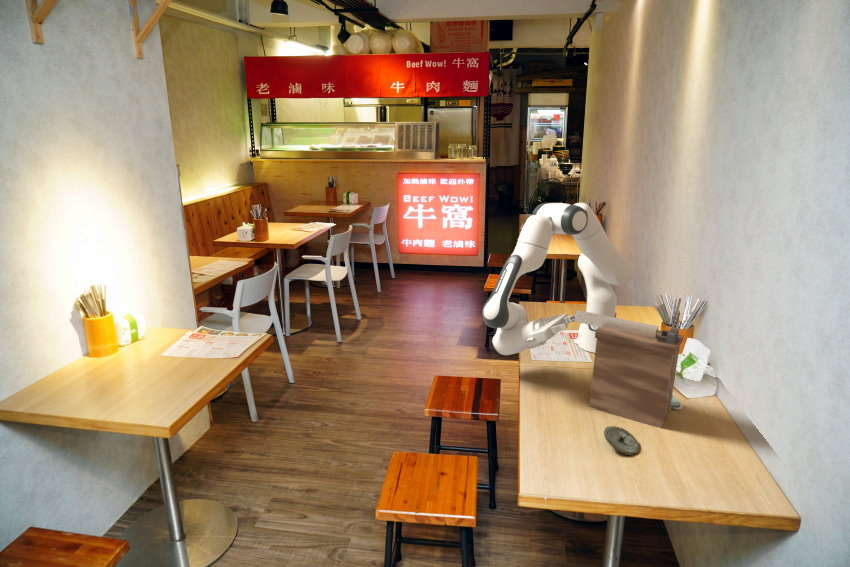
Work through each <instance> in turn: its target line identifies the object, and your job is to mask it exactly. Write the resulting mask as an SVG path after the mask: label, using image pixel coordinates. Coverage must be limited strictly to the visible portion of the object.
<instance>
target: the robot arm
mask: <svg viewBox="0 0 850 567" xmlns="http://www.w3.org/2000/svg"><path fill="white" fill-rule="evenodd" d="M554 235H568V236H572V238H573V240H574V241H575V243H576V245H577V247H578V249H579V251H580V252H581V254H580V255H579V257H578V260H577V266H578V269H579V270H580V272H581V274H582V276H583V278H584V282H585V287H586V292H587V294H586V295H587V296H586V310H585V312H590V313H595V314H600V315H605V316H610V317H615V318H617V315H618V314H617V312H616V309H617V302H618V300H617V299H618V297H617V294H616V293H615V291H614V290H613V288H612V286H611V285H613V286H624V287H625V286H628V285H629V284H630V283H632V281H633V280H634V277H635V275H636V267H635V265H634V264H633V262H631V261H630V260H629V259H627V258H626V257H625V256H624V255H623V254H622V253H621V252H620V251H619V250H618V248H617V247H616V245H614V243H613V242H612V241H611V240H610V238H609V237H608V235H607V233H606V232H605V230H604V228H603V226H602V224H601V221H600V219H599V218H598V216H597V215H596V213H595V211H594V210H593V208H591V207H590V205H589V204H587V203H585V202H577V203H574V204H570V203H563V202H544V203H541V204H538V205H537V206H536V207H534V210H533V211H532V214H531V215H530V216H529V217H528V218H527V219H526V221H525V223H524V224H523V227H522V229H521V230H520V233H519V236H518V239H517V241H516V246H515V248H514V250H513V252H512V253H511V254H510V256H509V257H508V258H507V259H506V261H505V263H504V265H503V267H502V269H501V271H500V274H499V275H498V278H497V280H496V282H495V285H494V288H493V290H492V291H491V294H490V295H489V297H488V299H487V300H486V302H485V303H484V305H483V306H482V310H481V311H482V312H481V315H482V320H483V322H484V323H485V325H486V326H487V327H489V328H491V329H496V332H495V334H494V336H493V337H492V345H493V348H494V349H495V351H496V352H497V353H498V354H500V355H503V356H510V355H515V354H519V353H522V352H524V351H525V350H528V349H530V350H531V349H534V348H537V347H541V346H544V345H545V344H547V341H549V340H550V339H552V338H553V337H554V336H555V335H557V334H558V333H560V332H561V331H564V330H566V329H567V328H568V325H569V324H571V323H573V322H575V321H574V319H575V314H574V315H568V314H567V313H561V314H557V315H554V316H549V317H547V318H546V317H541V318H539V319H534V320H531V321H529V318H528V314H527V309H525V307H524V306H523V305H522V304H519V303H515V302H510V301H509V300H510V297H511V295H512V293H513V290H514V288H515V286H516V283H517V281H518V279H519V278H520V277H521V276H523V275H525V274H526V273H530V272H533V271H536V270H538V269H540V268H541V267H542V266H543V264H544V262H545V260H546V258H547V255H548V251H549V249H550V248H549V247H550V245H551V239H552V237H553V236H554ZM599 328H600V327H598V326H593V325H589V324H584V323H580V325H579V329H578V336H577V338H575V339H573V343H574V344H576V345H577V346H578V347H579V348H580V349H582V350H583V351H586V352H590V353H594V354H595V350H596V341H597V338H595V332H596V331H597V330H598V329H599Z"/></svg>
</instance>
